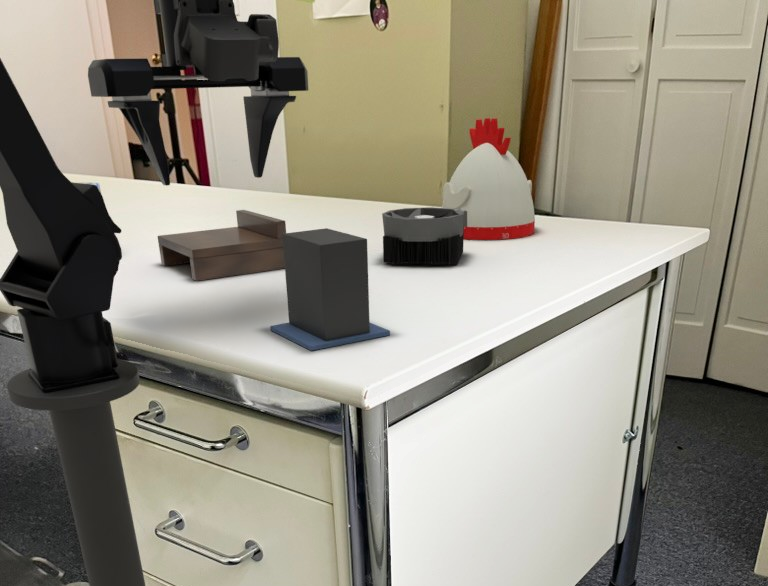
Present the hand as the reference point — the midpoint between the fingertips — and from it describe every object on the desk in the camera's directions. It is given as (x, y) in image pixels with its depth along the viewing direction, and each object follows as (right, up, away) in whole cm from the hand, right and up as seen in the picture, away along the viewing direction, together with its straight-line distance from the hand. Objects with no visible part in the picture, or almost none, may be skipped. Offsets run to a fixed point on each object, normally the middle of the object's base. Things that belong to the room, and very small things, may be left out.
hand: (213, 181), depth 76 cm
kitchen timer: (+31, +10, +43) cm, 54 cm away
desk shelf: (-4, -1, +24) cm, 25 cm away
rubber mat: (+11, -15, -3) cm, 19 cm away
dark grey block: (+11, -15, -3) cm, 19 cm away
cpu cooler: (+21, +1, +26) cm, 33 cm away
